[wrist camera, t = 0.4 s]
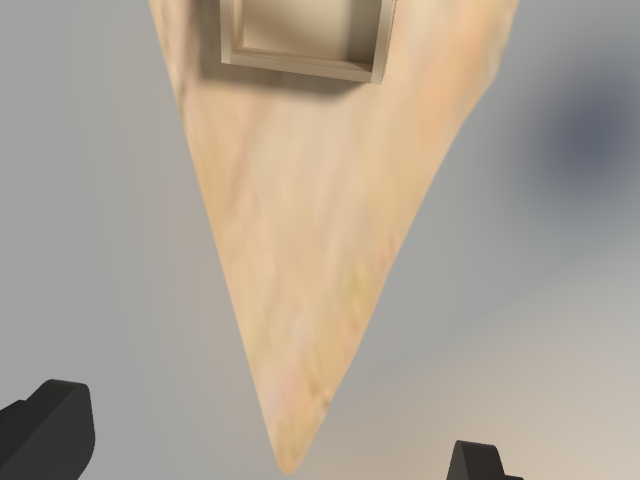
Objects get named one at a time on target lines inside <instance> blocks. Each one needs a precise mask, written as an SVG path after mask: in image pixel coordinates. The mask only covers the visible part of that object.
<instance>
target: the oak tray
mask: <svg viewBox="0 0 640 480" xmlns="http://www.w3.org/2000/svg"><path fill="white" fill-rule="evenodd" d="M395 6H396V0H220V32H221V63H227V64H234V65H242V66H249V67H256V68H264V69H271V70H278V71H286V72H293V73H300V74H307V75H315V76H322V77H329V78H337V79H344V80H351V81H359V82H366V83H373V84H380V85H381V82H382V79H383V77H384V74H385V71H386V64H387V58H388V51H389V45H390V38H391V32H392V25H393V19H394V12H395Z"/></svg>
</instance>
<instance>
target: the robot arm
mask: <svg viewBox="0 0 640 480" xmlns="http://www.w3.org/2000/svg"><path fill="white" fill-rule="evenodd" d="M94 446H95V431H94V423H93V415H92V407H91V399H90V392H89V388H88V386H87V385H85V384H82V383H76V382H69V381H62V380H55V379H50V380H48V381H46V382H45V383H43V384H42V385H41V386H40V387H39V388H38V389H37V390H36V391H35V392H34V393H33V394H32V395H31V396H30V397H29V398H28V399H27V400H26V401H24V400H18V401H16V402H14V403H13V404H11V405H9V406H7V407H5V408H4V409H2V410H0V480H78V478H79V477H80V475H81V474H82V473H83V471H84V470H85V468H86V467H87V465H88V463H89V461H90V459H91V456H92V454H93V450H94ZM446 480H524V479H523V478H521V477H515V476H508V475H505V474H504V470H503V467H502V463H501V460H500V456H499V453H498V450H497V448H496V447H495V446H494V445H487V444H481V443H474V442H467V441H460V440H457V441H456V443H455V446H454V450H453V454H452V458H451V462H450V467H449V471H448V475H447V479H446Z"/></svg>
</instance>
